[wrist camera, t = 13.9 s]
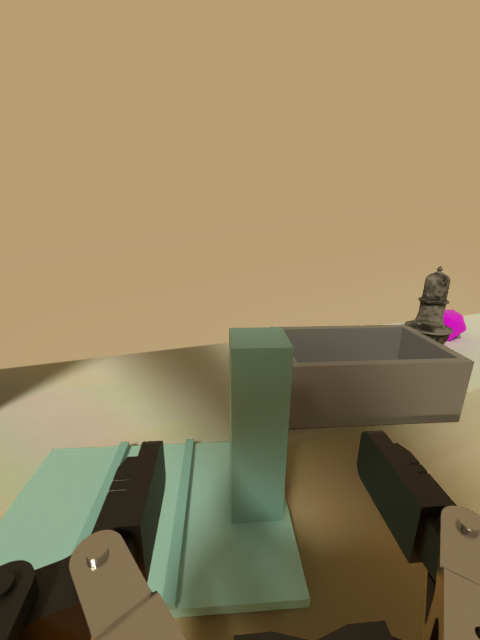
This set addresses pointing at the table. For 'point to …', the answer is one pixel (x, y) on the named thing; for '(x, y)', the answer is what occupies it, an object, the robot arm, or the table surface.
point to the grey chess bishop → (433, 308)
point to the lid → (191, 499)
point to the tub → (373, 377)
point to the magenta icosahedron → (454, 323)
